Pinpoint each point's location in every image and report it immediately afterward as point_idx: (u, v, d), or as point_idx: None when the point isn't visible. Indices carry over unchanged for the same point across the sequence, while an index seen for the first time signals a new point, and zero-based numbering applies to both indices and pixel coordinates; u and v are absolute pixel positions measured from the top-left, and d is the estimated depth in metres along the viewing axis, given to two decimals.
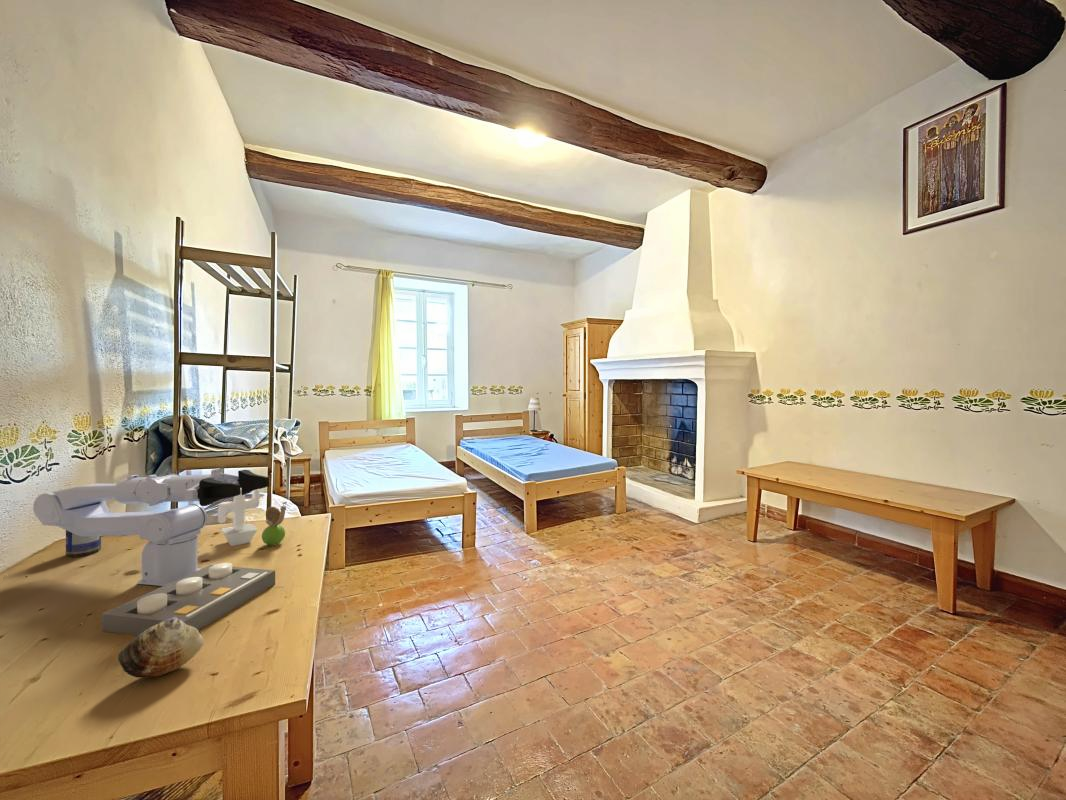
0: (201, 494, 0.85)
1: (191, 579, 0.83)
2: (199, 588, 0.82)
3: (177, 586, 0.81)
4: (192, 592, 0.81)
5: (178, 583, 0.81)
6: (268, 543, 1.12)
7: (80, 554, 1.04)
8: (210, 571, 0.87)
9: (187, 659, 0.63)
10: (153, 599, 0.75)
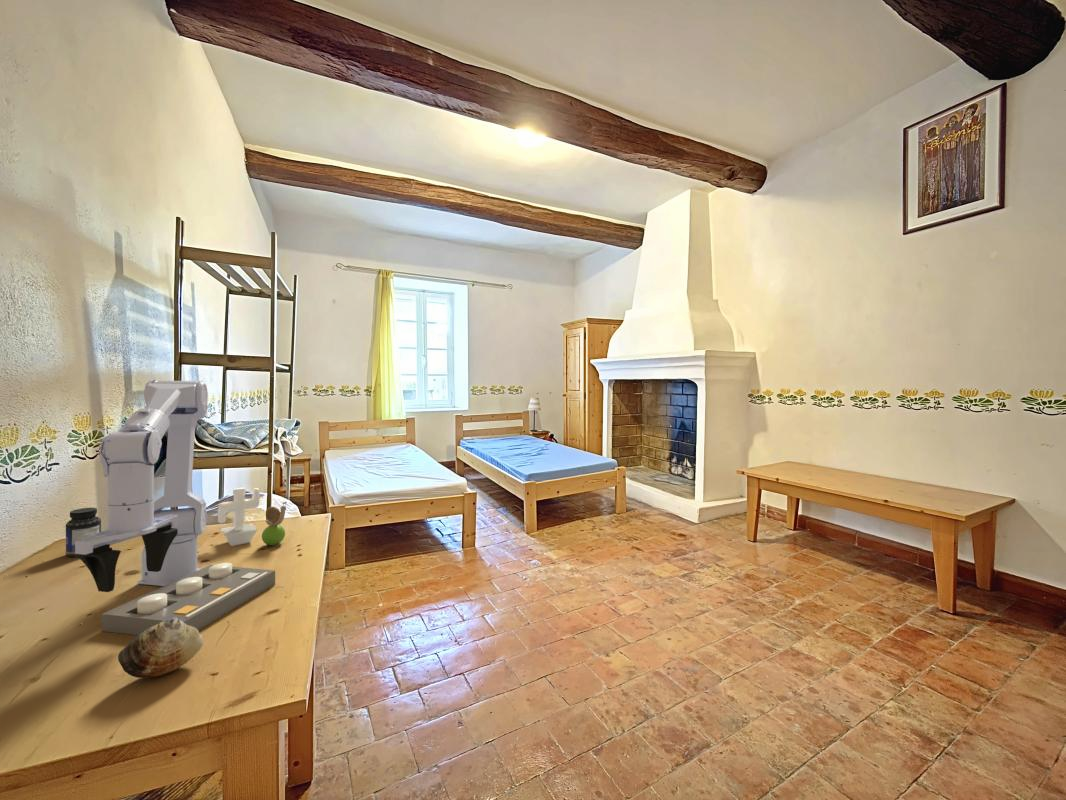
0: (88, 556, 0.66)
1: (191, 579, 0.83)
2: (199, 588, 0.82)
3: (177, 586, 0.81)
4: (192, 592, 0.81)
5: (178, 583, 0.81)
6: (268, 543, 1.12)
7: None
8: (210, 571, 0.87)
9: (187, 659, 0.63)
10: (153, 599, 0.75)
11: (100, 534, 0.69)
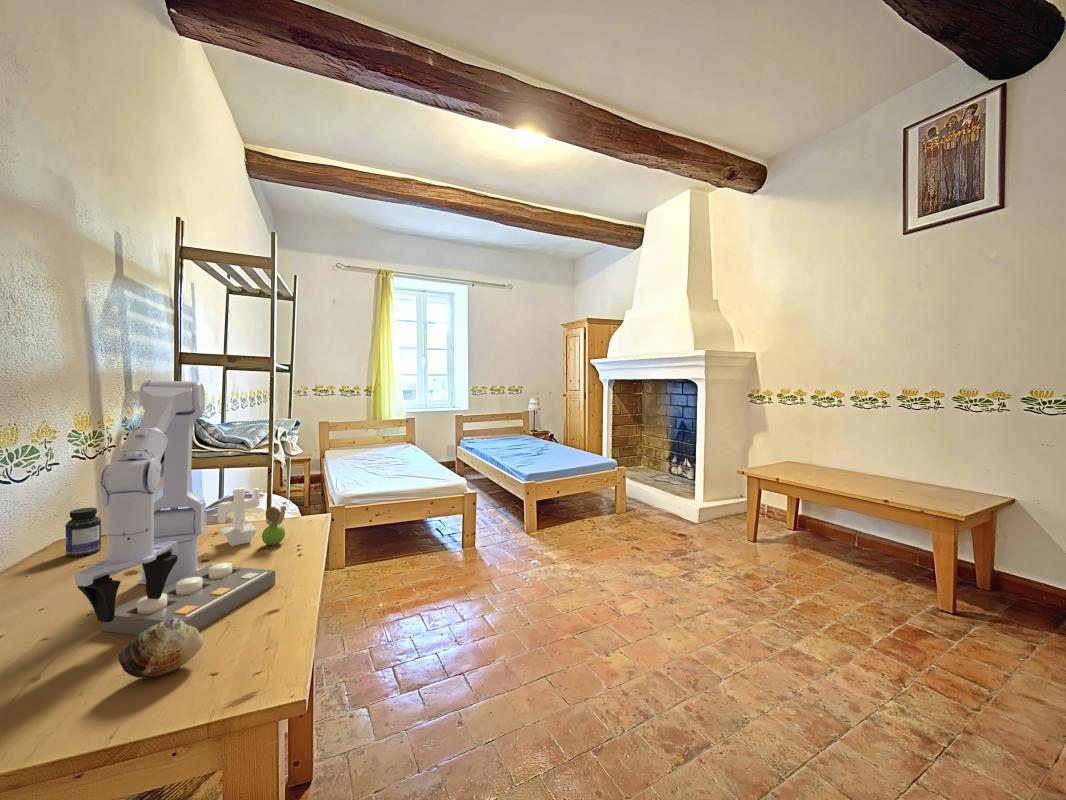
0: (88, 587, 0.66)
1: (191, 579, 0.83)
2: (199, 588, 0.82)
3: (177, 586, 0.81)
4: (192, 592, 0.81)
5: (178, 583, 0.81)
6: (268, 543, 1.12)
7: (80, 554, 1.04)
8: (210, 571, 0.87)
9: (187, 659, 0.63)
10: (153, 599, 0.75)
11: (100, 564, 0.69)
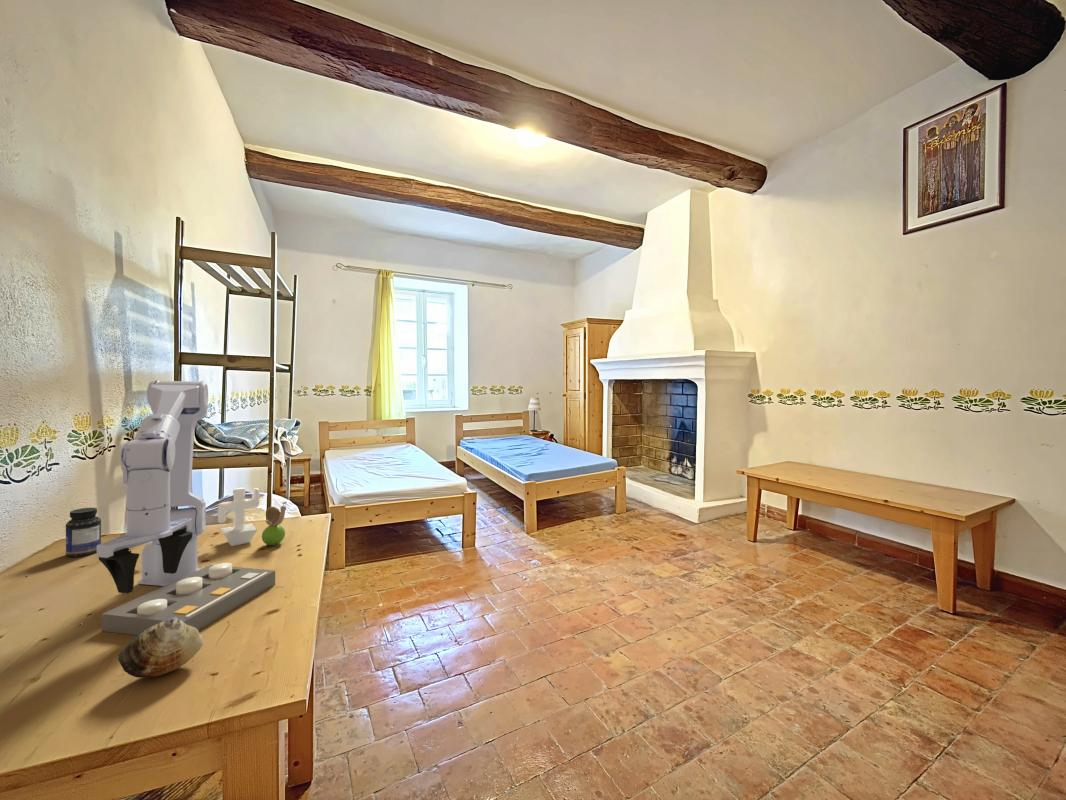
0: (108, 559, 0.69)
1: (191, 579, 0.83)
2: (199, 588, 0.82)
3: (177, 586, 0.81)
4: (192, 592, 0.81)
5: (178, 583, 0.81)
6: (268, 543, 1.12)
7: (80, 554, 1.04)
8: (210, 571, 0.87)
9: (187, 659, 0.63)
10: (153, 605, 0.75)
11: (119, 538, 0.72)
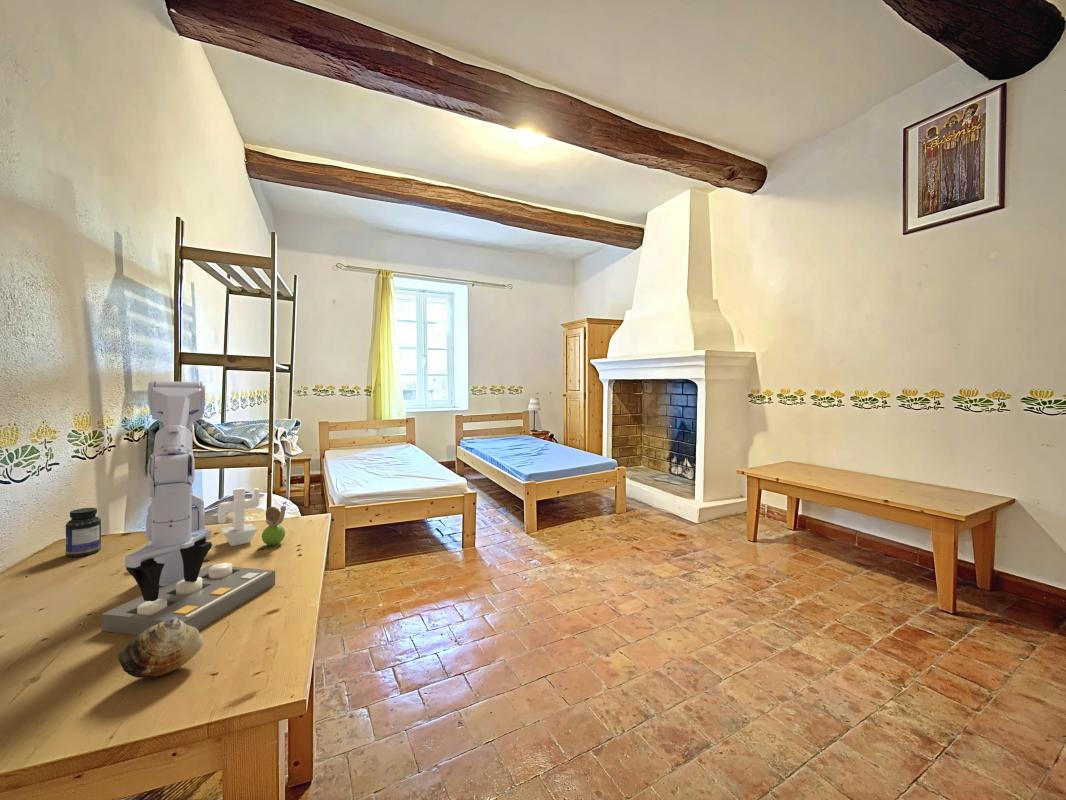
0: (136, 568, 0.73)
1: None
2: (199, 588, 0.82)
3: (177, 586, 0.81)
4: (192, 592, 0.81)
5: (178, 583, 0.81)
6: (268, 543, 1.12)
7: (80, 554, 1.04)
8: (210, 571, 0.87)
9: (187, 659, 0.63)
10: (153, 605, 0.75)
11: (145, 548, 0.76)
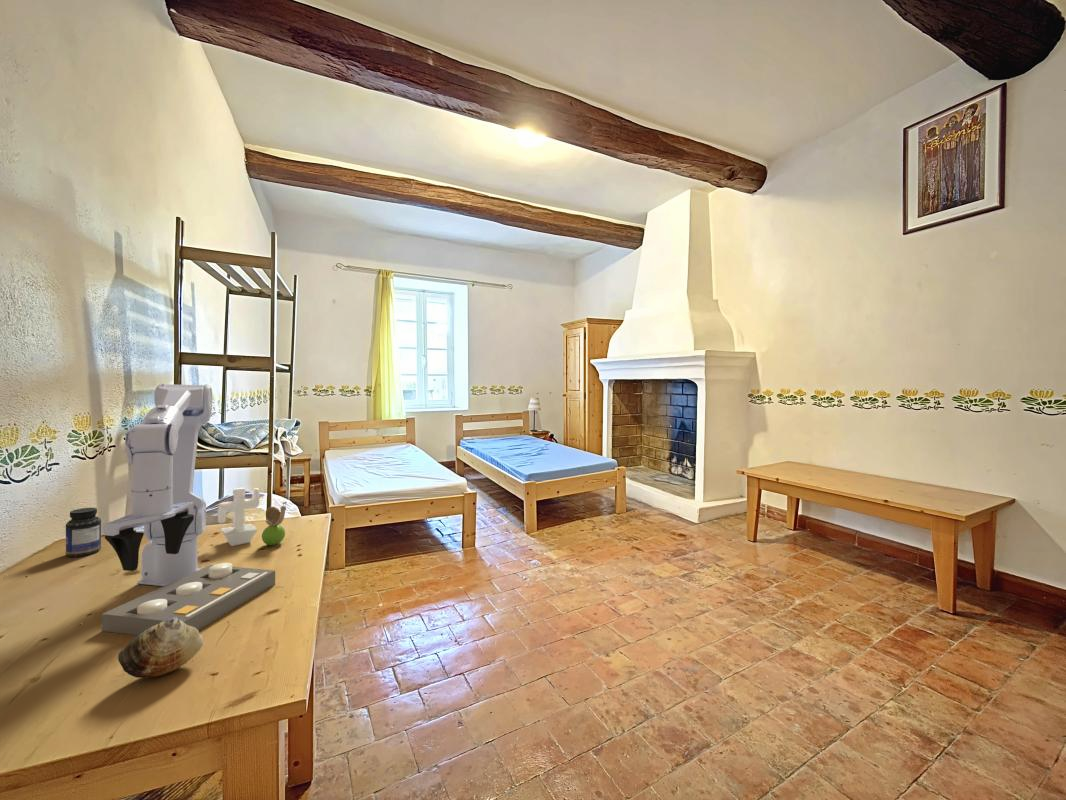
0: (114, 537, 0.72)
1: (191, 584, 0.83)
2: None
3: (177, 591, 0.81)
4: None
5: (178, 588, 0.81)
6: (268, 543, 1.12)
7: (80, 554, 1.04)
8: (210, 571, 0.87)
9: (187, 659, 0.63)
10: (153, 605, 0.75)
11: (124, 518, 0.75)
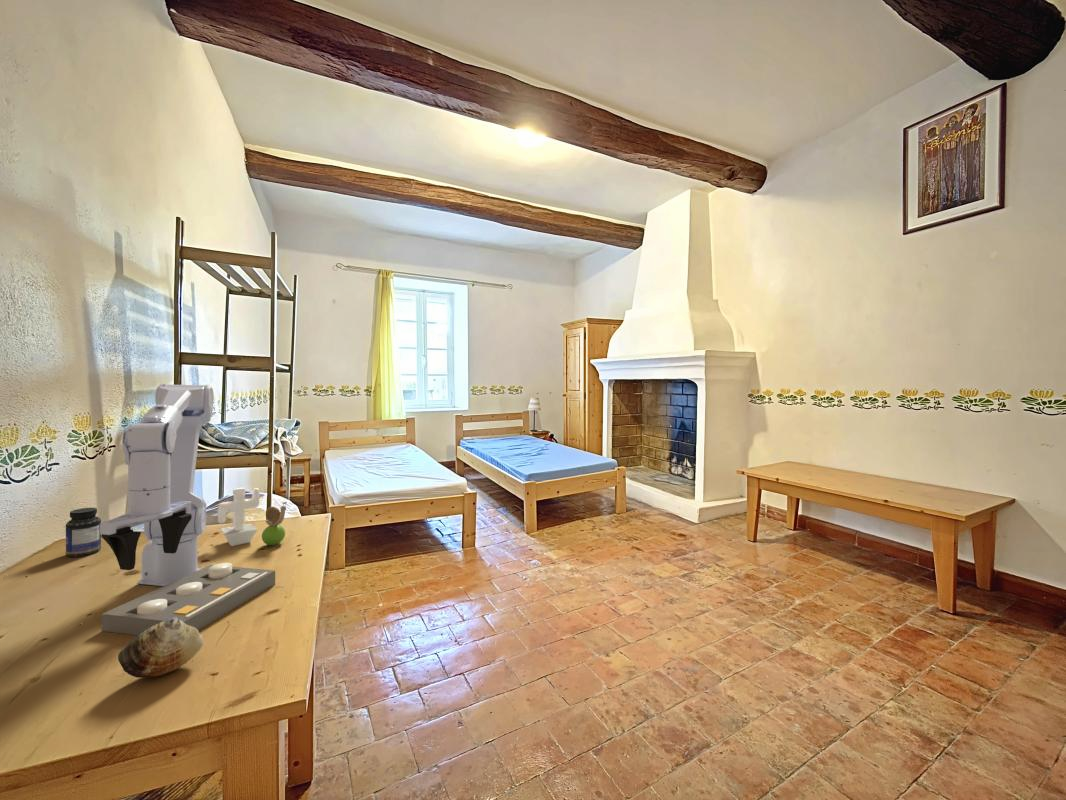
0: (111, 536, 0.72)
1: (191, 584, 0.83)
2: None
3: (177, 591, 0.81)
4: None
5: (178, 588, 0.81)
6: (268, 543, 1.12)
7: (80, 554, 1.04)
8: (210, 571, 0.87)
9: (187, 659, 0.63)
10: (153, 605, 0.75)
11: (122, 517, 0.75)
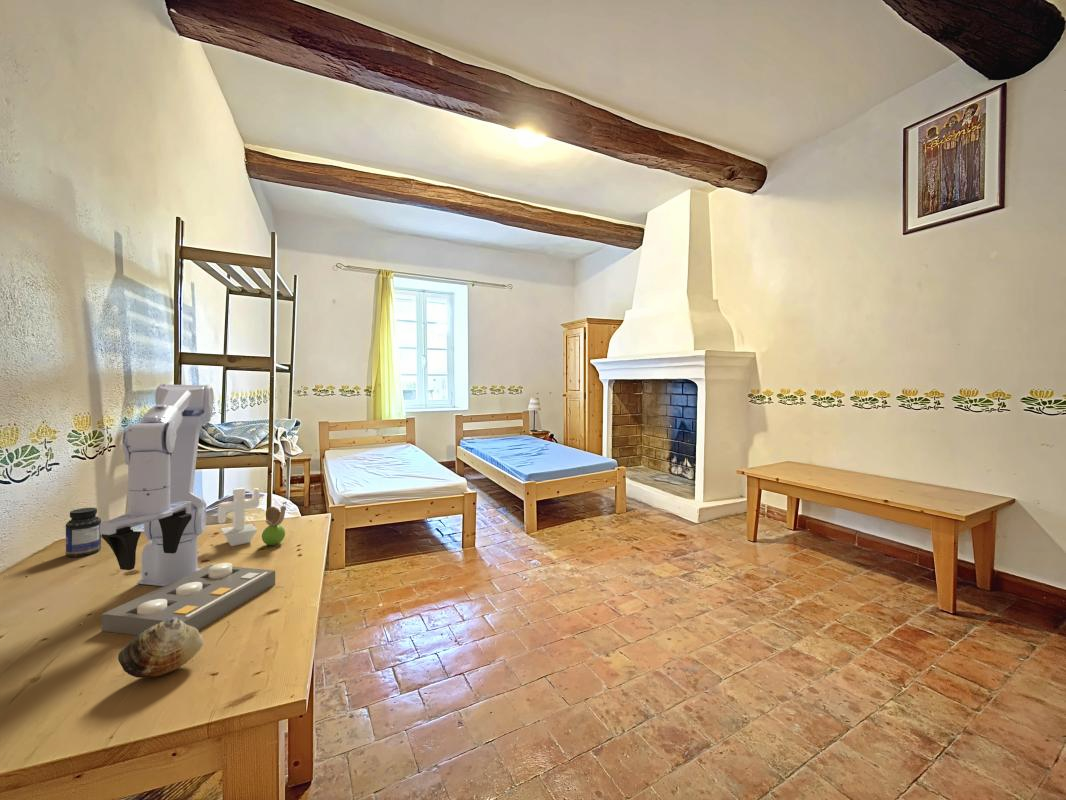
0: (111, 536, 0.72)
1: (191, 584, 0.83)
2: None
3: (177, 591, 0.81)
4: None
5: (178, 588, 0.81)
6: (268, 543, 1.12)
7: (80, 554, 1.04)
8: (210, 571, 0.87)
9: (187, 659, 0.63)
10: (153, 605, 0.75)
11: (122, 517, 0.75)
